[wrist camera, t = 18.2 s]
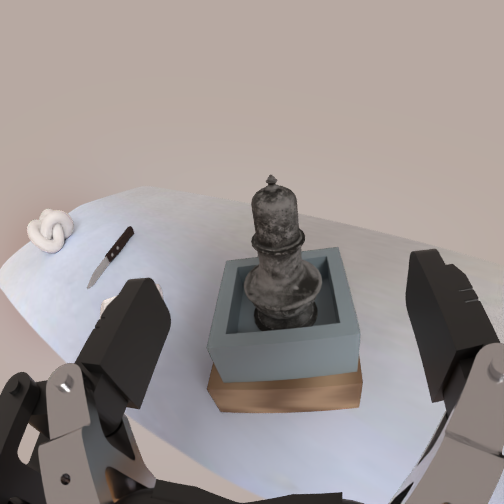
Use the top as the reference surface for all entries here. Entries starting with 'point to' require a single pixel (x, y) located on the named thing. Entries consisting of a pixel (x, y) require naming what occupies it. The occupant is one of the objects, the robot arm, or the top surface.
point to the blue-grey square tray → (287, 340)
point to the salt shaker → (280, 264)
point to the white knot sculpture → (50, 230)
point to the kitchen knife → (111, 255)
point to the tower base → (287, 393)
